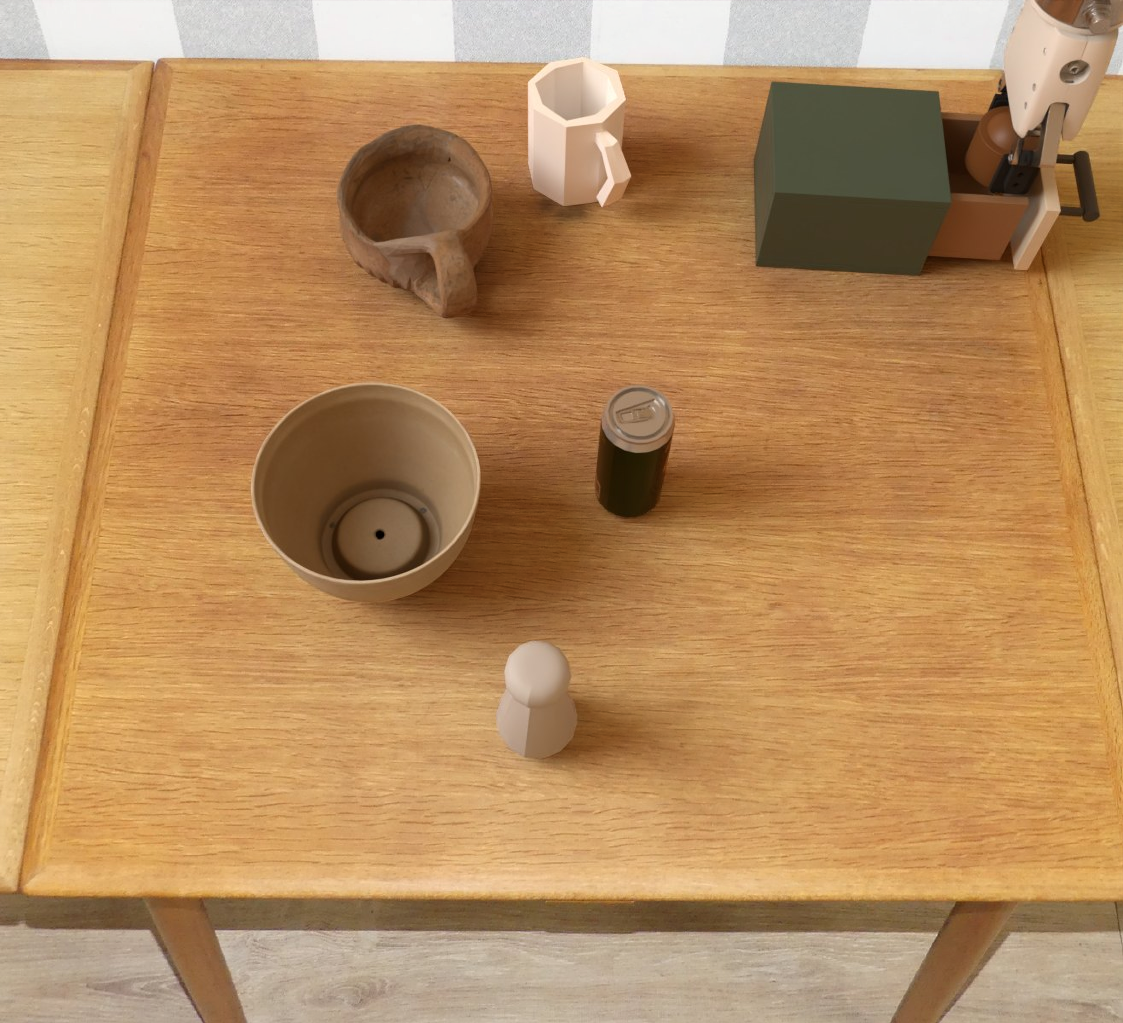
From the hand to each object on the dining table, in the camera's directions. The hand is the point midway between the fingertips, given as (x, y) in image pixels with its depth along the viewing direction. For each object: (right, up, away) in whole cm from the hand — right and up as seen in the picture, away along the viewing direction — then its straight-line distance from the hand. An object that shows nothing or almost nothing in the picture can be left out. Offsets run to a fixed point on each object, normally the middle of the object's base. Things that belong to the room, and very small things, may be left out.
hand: (1003, 159), depth 104 cm
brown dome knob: (0, 0, +1) cm, 1 cm away
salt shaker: (-40, -46, -15) cm, 62 cm away
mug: (-36, 0, +9) cm, 37 cm away
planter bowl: (-52, -33, -8) cm, 62 cm away
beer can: (-32, -29, -6) cm, 44 cm away
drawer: (0, -3, +7) cm, 8 cm away
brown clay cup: (-49, -8, +4) cm, 50 cm away
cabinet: (-13, -3, +8) cm, 15 cm away
